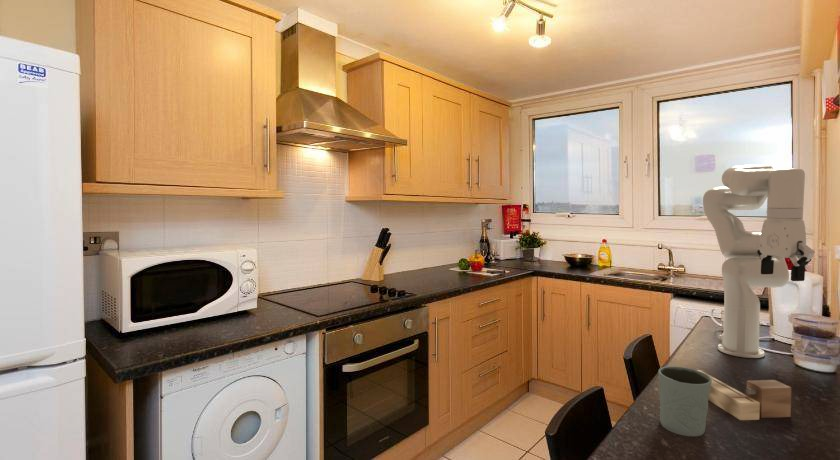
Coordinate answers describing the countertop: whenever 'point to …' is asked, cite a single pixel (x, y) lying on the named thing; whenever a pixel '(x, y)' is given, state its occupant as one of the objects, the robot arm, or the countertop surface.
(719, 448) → the countertop surface
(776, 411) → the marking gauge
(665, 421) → the green cup
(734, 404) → the guide plank
